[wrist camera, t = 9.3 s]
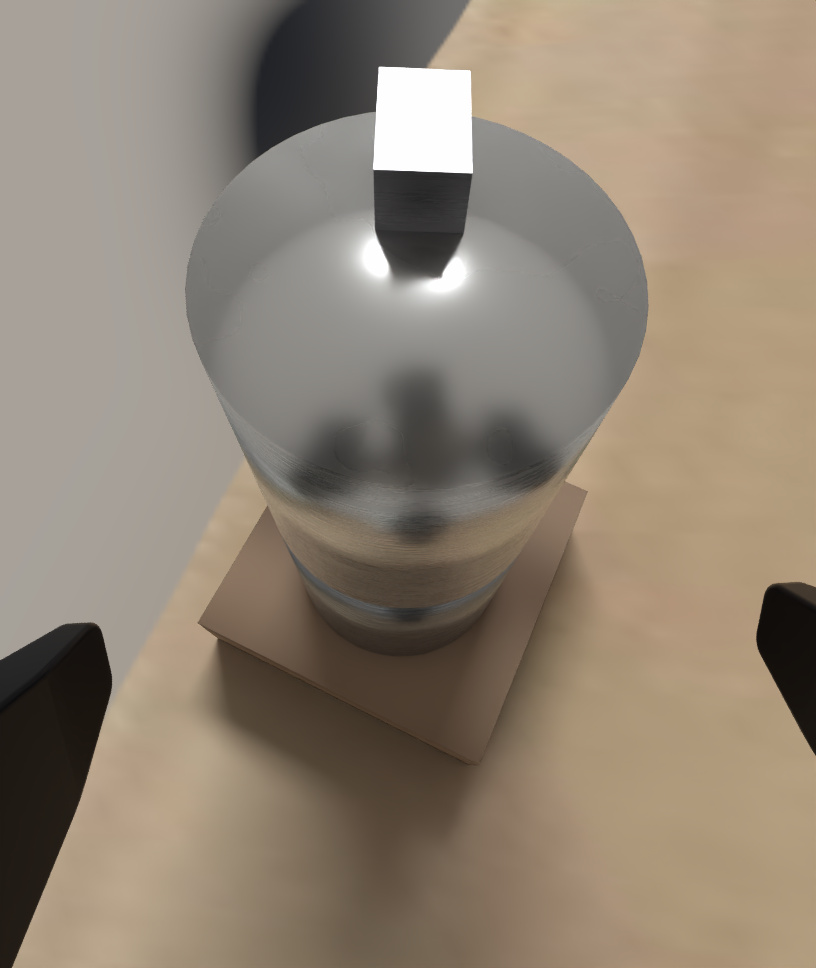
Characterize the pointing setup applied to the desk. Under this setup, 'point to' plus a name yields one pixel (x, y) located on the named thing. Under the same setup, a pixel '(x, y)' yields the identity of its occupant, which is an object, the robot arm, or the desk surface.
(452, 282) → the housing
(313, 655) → the stand
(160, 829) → the desk surface
